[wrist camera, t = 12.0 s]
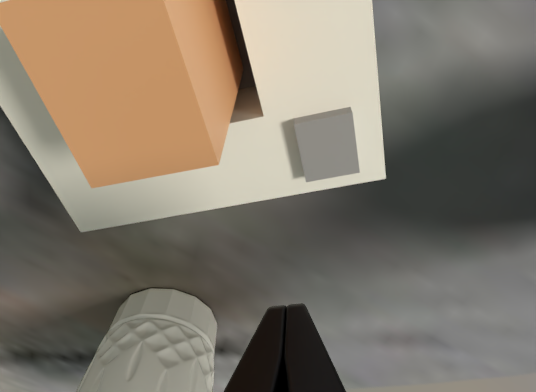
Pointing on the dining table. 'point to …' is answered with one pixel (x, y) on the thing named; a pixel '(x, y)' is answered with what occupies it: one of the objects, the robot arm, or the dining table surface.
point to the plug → (131, 80)
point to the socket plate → (242, 119)
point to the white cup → (156, 346)
